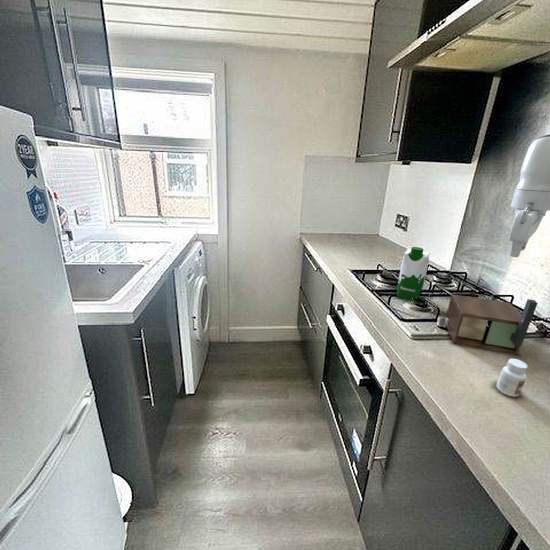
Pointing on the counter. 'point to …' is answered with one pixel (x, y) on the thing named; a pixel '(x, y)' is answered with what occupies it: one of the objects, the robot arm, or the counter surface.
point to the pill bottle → (512, 377)
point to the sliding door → (511, 329)
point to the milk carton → (412, 273)
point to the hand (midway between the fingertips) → (517, 253)
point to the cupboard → (479, 321)
